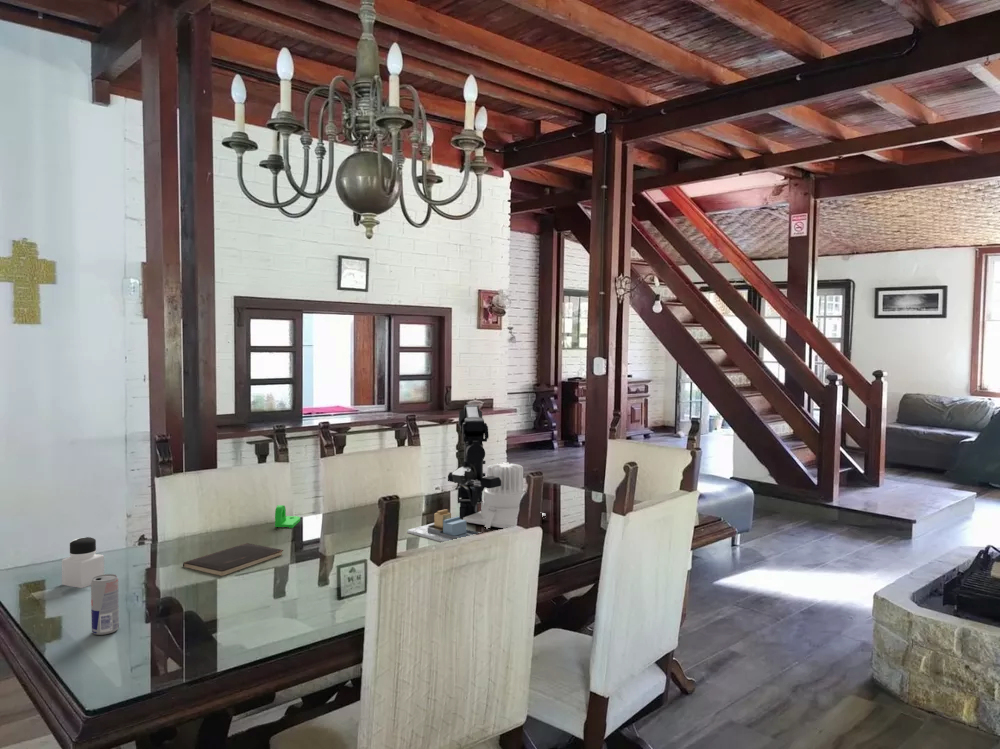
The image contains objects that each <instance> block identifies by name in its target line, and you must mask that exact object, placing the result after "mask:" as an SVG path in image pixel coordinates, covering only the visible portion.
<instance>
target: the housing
mask: <svg viewBox="0 0 1000 749" xmlns="http://www.w3.org/2000/svg"><path fill="white" fill-rule="evenodd" d="M466 529H467V522H466V520H463V519H460V517H459V515H458V516H455V517H451V518H450V519H446V520H443V533H445V534H449V535H454V536H456V535H459V534H463V533H466Z"/></svg>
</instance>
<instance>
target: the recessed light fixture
mask: <svg viewBox="0 0 1000 749" xmlns="http://www.w3.org/2000/svg"><path fill="white" fill-rule="evenodd" d="M486 468H487V469H486V470H487V472H486V474H487V475H486V477H489V476H494V477H499V478H500V479H501V486H498V487H494V488H484V490H483V491H484V494H483V495H484V496H483V500H482V502H481V503H480V511H478V513H475V514H472V515H469V516H466V517H464V518H463V519H462V520H466V523H470V524H476V525H483V526H484V527H486V529H488V528H490V529H491V527H494V528H501V529H506V527H511V526H514V525H515V520H516V516H517V512H518V507H519V502H520V499H521V495H522V494H523V492H524V490H526V489H524V467H523V466H522V465H520V463H519V464H518V463H509V461H507V462H504V461H502V462H501V463H492V464H489V465H488V466H486ZM541 513H542V517H543V516H546V514H547V513H544V512H541ZM546 517H547V516H546Z"/></svg>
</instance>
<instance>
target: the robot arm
mask: <svg viewBox="0 0 1000 749" xmlns="http://www.w3.org/2000/svg"><path fill="white" fill-rule="evenodd" d="M458 427H459V429H460V433H461V434H462V442H463V443H464V444H463V446H464V450H463V453H464V454H463V460H462V462H461V467H458V468H457V469H456V470H455V471H451V472H449V473H448V475H447V482H450V483H453V484H459V486H457V492H456V493H457V504H459V515H458V517H460V519H461V520H463V518H464V517H466V516H469V515H472V514H475V513H478V512H479V511H478V509H479V508H478V506H479V504H481V502H482V501H483V491H484V490H485V489H487V488H494V487H498V486H501V479H500V478H499V477H494V476H489V477H487V476H486V473H485V472H484V469H483V468H484V465H486V460H484V459H485V457H486V450H485V448H484V444H483V443H484V442H485V443H486V442H488V440H489V436H490V434H489V426H488V424H487V423H486V422H485V420H484V417H483V411H482V410H481V409H480V408H479V405H477V404H466V405H464V407H463V409H461V410H460V411H459V412H458Z"/></svg>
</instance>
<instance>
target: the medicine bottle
mask: <svg viewBox="0 0 1000 749" xmlns="http://www.w3.org/2000/svg"><path fill="white" fill-rule="evenodd" d="M96 544H97V541H96V538H94V537H90V536H88V537H87V536H86V537H85V536H84V537H78V538H75V539H72V540H71V541H70V542H69V556H68V557H65V558H62V559H61V584H62V586H68V587H74V588H80V589H84V588H86V587H88V586H91V582H92V578H94V577H96V576H99V575H105V556H104V554H97V553H96V552H97V551H96V550H97V545H96Z"/></svg>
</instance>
